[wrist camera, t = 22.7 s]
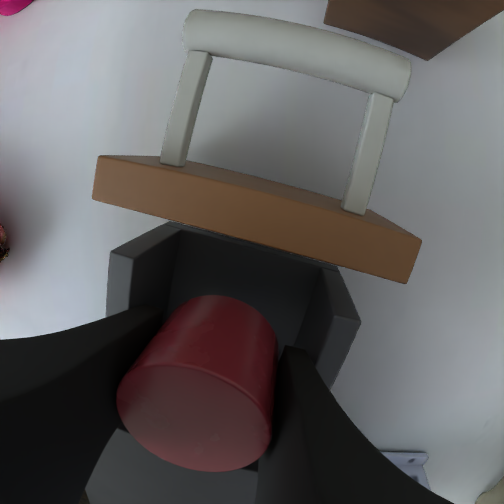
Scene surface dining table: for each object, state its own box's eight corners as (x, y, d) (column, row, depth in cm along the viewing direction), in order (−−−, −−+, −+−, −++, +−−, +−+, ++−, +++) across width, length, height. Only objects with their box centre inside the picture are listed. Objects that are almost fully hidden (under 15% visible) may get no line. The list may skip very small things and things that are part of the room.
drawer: (196, 50, 11) (145, -7, 6) (399, 100, 11) (462, 66, 6) (138, 364, 15) (91, 430, 10) (294, 409, 15) (292, 491, 10)
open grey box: (138, 316, 16) (61, 401, 9) (319, 368, 15) (330, 482, 8) (133, 446, 19) (95, 517, 12) (260, 483, 18) (249, 564, 12)
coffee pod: (294, 313, 9) (294, 393, 6) (261, 403, 10) (248, 485, 7) (172, 279, 9) (114, 338, 6) (159, 373, 10) (116, 443, 7)
